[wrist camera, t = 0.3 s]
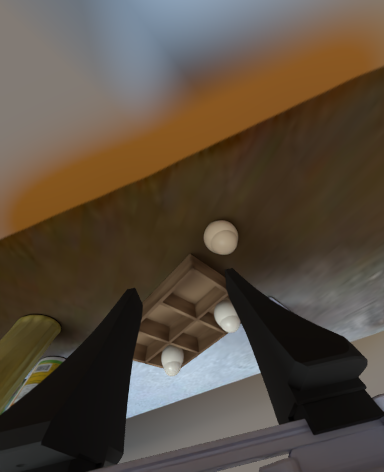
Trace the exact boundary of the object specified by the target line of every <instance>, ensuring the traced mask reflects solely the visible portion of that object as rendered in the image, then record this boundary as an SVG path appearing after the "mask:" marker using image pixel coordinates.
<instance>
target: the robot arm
mask: <svg viewBox="0 0 384 472" xmlns="http://www.w3.org/2000/svg"><path fill="white" fill-rule="evenodd" d="M225 280H226V290H227V292H228V295H229V298H230V301H231V303H232V305H233V307H234V309H235V311H236V313H237V315H238V317H239V319H240V321H241V324H242V326H243V328H244V330H245V332H246V334H247V337H248V339H249V342H250V345H251V347H252V350H253V352H254V355H255V358H256V361H257V363H258V366H259V369H260V371H261V374H262V377H263V380H264V383H265V385H266V388H267V391H268V394H269V397H270V400H271V403H272V405H273V408H274V411H275V415H276V418H277V421H278V423H279V425H277V426H273V427H269V428H265V429H261V430H257V431H253V432H248V433H244V434H240V435H236V436H232V437H228V438H223V439H219V440H216V441H211V442H207V443H203V444H199V445H195V446H191V447H187V448H182V449H178V450H175V451H170V452H166V453H162V454H158V455H153V456H150V457H145V458H141V459H137V460H133V461H129V462H125V463H121V464H117V463H118V462H119V461H120V459H121V458H122V455H123V452H124V437H125V424H126V413H127V402H128V393H129V384H130V376H131V369H132V362H133V356H134V351H135V347H136V342H137V338H138V334H139V329H140V325H141V320H142V312H143V304H142V302H141V300H140V298H139V295H138V293H137V291H136V289H135V288H132V289H127V290H126V292H125V293H124V294H123V296H122V297H121V298H120V300H119V301H118V302H117V303H116V305H115V306H114V307H113V309H112V310H111V311H110V312H109V314H108V315H107V316H106V317H105V318H104V320H103V321H102V322H101V323H100V324H99V326H98V327H97V328H96V329H95V330H94V331H93V332H92V334H91V335H90V336H89V337H88V338H87V339H86V340H85V341H84V342H83V343H82V344H81V345H80V346H79V347H78V348H77V349H76V350H75V351H74V352H73V353H72V354H71V355H70V356H69V357H68V358H67V359H66V360H65V361H64V362H63V363H61V364H60V365H59V366H58V367H57V368H56V369H55V370H54V371H53V372H52V373H50V374H49V375H48V376H47V377H46V378H45V379H44V380H42V381H41V382H40V383H39V384H38V385H37V386H35V387H34V388H33V389H32V390H31V391H29V392H28V393H27V394H26V395H24V396H23V397H22V398H21V399H19V400H18V401H17V402H16V403H14V404H13V405H12V406H11V407H9V408H8V409H7V410H6V411H4V412H3V413H2V414H1V415H0V472H216V471H220V470H224V469H228V468H232V467H236V466H240V465H244V464H248V463H252V462H256V461H260V460H264V459H268V458H272V457H276V456H280V455H284V454H288V453H289V456H288V458H286V459H282V460H279V461H277V462H274V463H271V464H268V465H266V466H263V467H260V469H259V472H384V394H380V395H377V396H375V397H373V398H371V397H370V395H369V394H368V393H367V392H366V391H365V390H364V389H366V386H365V384H364V383H363V382H362V381H361V380H360V379H359V375H360V374H361V373H362V372H363V371H364V369H365V368H366V366H367V359H366V358H365V357H364V356H363V355H362V354H361V353H360V352H359V351H358V350H357V349H356V348H355V347H354V346H353V345H352V344H351V343H350V342H349V341H348V340H347V339H346V338H345V337H343V336H341V335H339V334H336V333H334V332H332V331H329V330H327V329H325V328H322V327H320V326H318V325H316V324H314V323H312V322H310V321H308V320H306V319H304V318H302V317H300V316H298V315H296V314H294V313H293V312H291V311H289V310H288V309H287V308H285V307H284V306H283V305H281V304H280V303H279V302H277V301H276V300H275V299H273V298H272V297H269V298H268V297H267V296H265V295H264V294H262V293H261V292H260V291H258V290H257V289H256V288H255V287H253V286H252V285H251V284H250V283H248V282H247V281H246V280H245V279H244V278H243V277H241V276H240V275H239V274H238V273H237V272H236V271H235V270H234V269H233V268H231V269H226V270H225Z"/></svg>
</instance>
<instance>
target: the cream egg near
mask: <svg viewBox="0 0 384 472" xmlns="http://www.w3.org/2000/svg"><path fill="white" fill-rule="evenodd" d="M214 317H215V320H216V322H217V323H218V325H219V326H221V328H222V329H223V330H224V331H226V332H228V333H233V332H235V331H237V330H238V328H239V326H240V319H239V317H238V315H237V313H236V311H235V309H234V307H233V305H232V303H231V301H230V299H229V298H228V297H225V298H224V299H223V300H222V301H220V302H219V303H218V304H217V305H216V306H215V309H214Z"/></svg>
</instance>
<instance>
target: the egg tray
mask: <svg viewBox="0 0 384 472" xmlns="http://www.w3.org/2000/svg"><path fill="white" fill-rule="evenodd" d="M225 297H228V298H229V295H228V292H227V290H226V280H225V277H224V276H222V275H221V274H219V273H218V272H216V271H215V270H213V269H212V268H210V267H209V266H208V265H206V264H205V263H203V262H202V261H200V260H199V259H197V258H196V257H194V256H193V255H191V254H189V255H188V256H187V257H186V258H185V259H184V260H183V261H182V262H181V263H180V264H179V265H178V266H177V267H176V268H175V269H174V270H173V272H172V273H171V274H170V275H169V276H168V277H167V278H166V279H165V280H164V281H163V282H162V283H161V284H160V285H159V286H158V287H157V288H156V289H155V290H154V291H153V292H152V293H151V294H150V295H149V296H148V297H147V298H146V300H145V301H144V302H143V303H142V304H143V312H142V320H141V325H140V329H139V334H138V338H137V342H136V347H135V351H134V356H133V360H134V361H137V362H141V363H145V364H149V365H153V366H156V367H160V368H164V367H163V365H162V362H161V356H162V352H163V350H164V348H165V347H166V346H168V345H169V344H171V345H174V346H176V347H179V348H182V349H183V353H184V360H183V363H182V365H181V368H182V367H183V366H184V365H186V364H187V363H188V362H190V361H191V360H192V359H194V358H195V357H196V356H198V355H199V354H201V353H202V352H203V351H205V350H206V349H207V348H209V347H210V346H211V345H213V344H214V343H215V342H217V341H218V340H220V339H221V338H222V337H224V336H225V335H226V334H228V332H226V331H224V330H223V329H222V328H221V326H219V325H218V323H217V322H216V320H215V317H214V309H215V306H216V305H217V304H218V303H219V302H220V301H222V300H223V299H224V298H225ZM229 299H230V298H229ZM240 324H241V321H240Z"/></svg>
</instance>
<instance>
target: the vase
mask: <svg viewBox="0 0 384 472" xmlns="http://www.w3.org/2000/svg"><path fill="white" fill-rule="evenodd" d="M60 331H61V327H60V324H59V323H58V322H57V321H56V320H54V319H52V318H50V317H48V316H44V315H27V316H24V317H22V318H20V319H19V320H18V321H17V322H16V323H15V325H14V326H13V327H12V328H11V329H10V331H9V332H8V333H7V334H6V335H5V336H4V337H3V338H2V339H1V340H0V413H1V412H2V410H3V409H4V407H5V406H6V404H7V403H8V401H9V400H10V399H11V397H12V396H13V394H14V393H15V392H16V390H17V389H18V387H19V386H20V385H21V383H22V382H23V380H24V379H25V377H26V376H27V375H28V373H29V372H30V371H31V370H32V368H33V367H34V366H35V364H36V363H37V362H38V360H39V359H40V358H41V356H42V355H43V354H44V352H45V351H46V350H47V348H48V347H49V345H50V344H51V343H52V341H53V340H54V339H55V338H56V336H57V335H58V334H59V333H60Z"/></svg>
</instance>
